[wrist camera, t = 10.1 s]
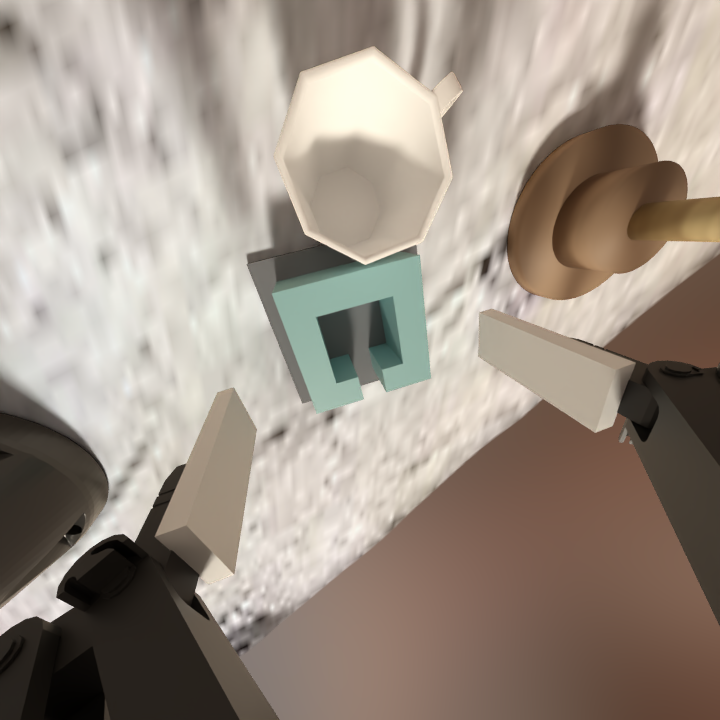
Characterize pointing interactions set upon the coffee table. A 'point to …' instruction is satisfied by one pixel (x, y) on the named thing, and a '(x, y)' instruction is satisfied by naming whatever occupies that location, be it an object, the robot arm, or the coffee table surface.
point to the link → (349, 289)
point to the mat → (339, 329)
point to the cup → (366, 154)
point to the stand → (601, 213)
